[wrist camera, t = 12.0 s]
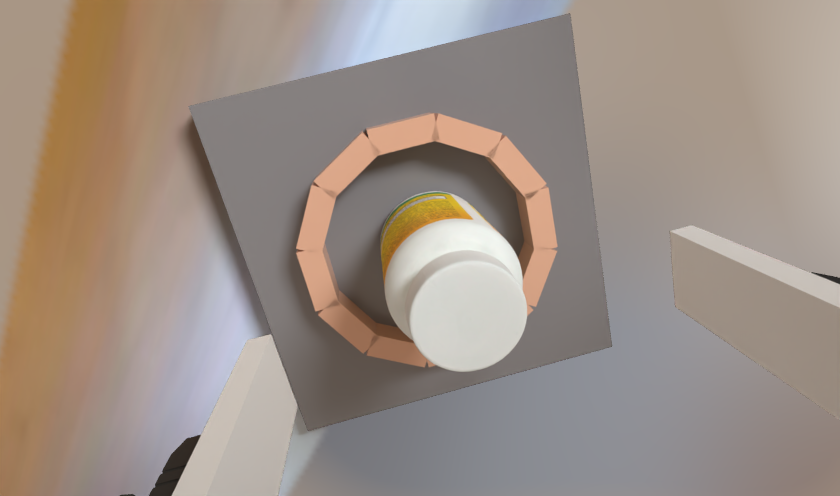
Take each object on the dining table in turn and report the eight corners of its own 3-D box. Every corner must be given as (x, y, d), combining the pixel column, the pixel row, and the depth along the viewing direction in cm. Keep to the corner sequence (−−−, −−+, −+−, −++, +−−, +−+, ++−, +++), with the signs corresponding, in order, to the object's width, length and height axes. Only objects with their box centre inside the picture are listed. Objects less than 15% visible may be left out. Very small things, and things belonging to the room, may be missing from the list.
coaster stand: (557, 18, 24) (584, 7, 22) (599, 334, 30) (625, 359, 27) (198, 105, 24) (176, 106, 21) (310, 414, 29) (305, 449, 26)
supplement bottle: (500, 215, 25) (579, 281, 16) (453, 304, 26) (501, 411, 17) (407, 170, 24) (435, 213, 15) (361, 264, 25) (361, 358, 16)
